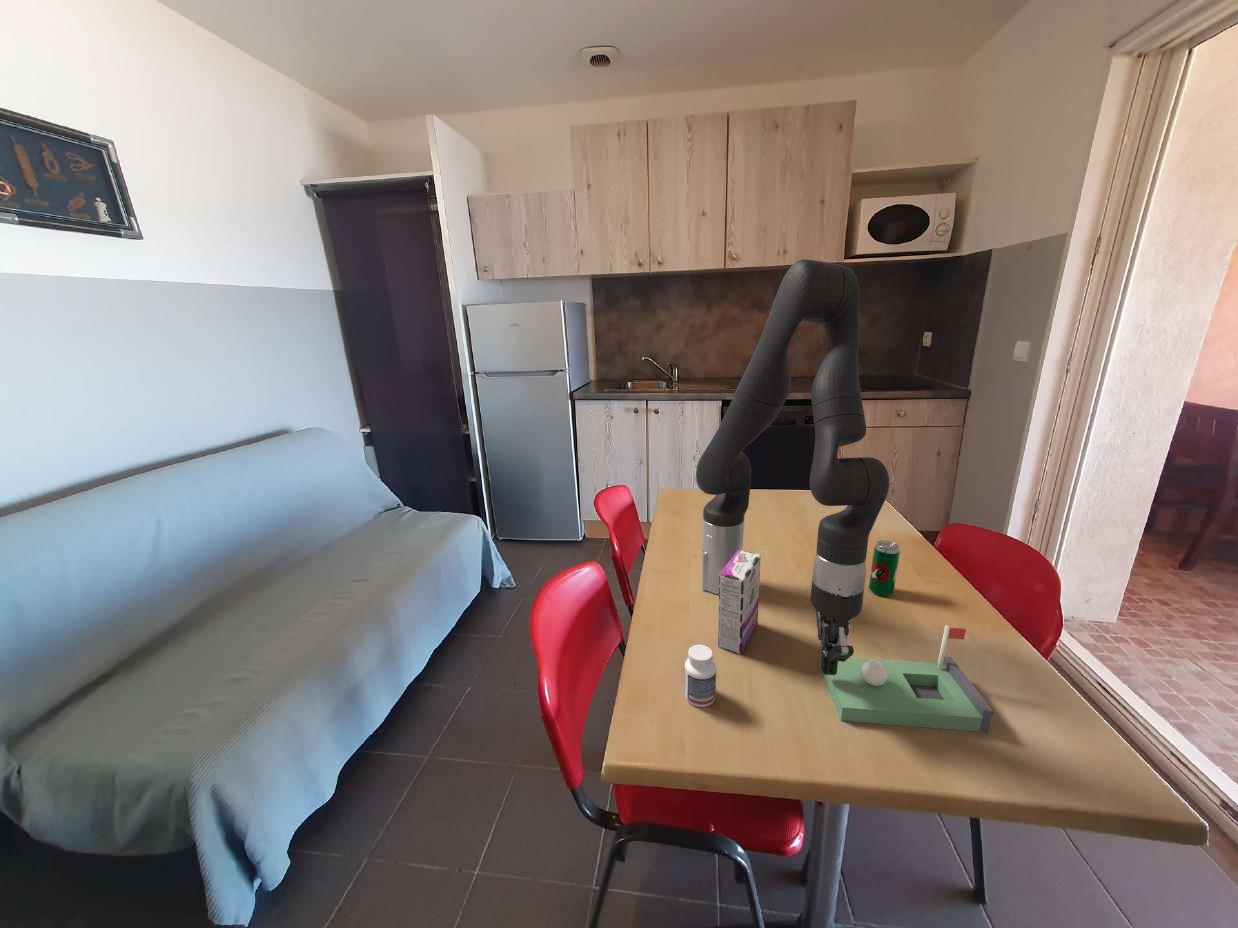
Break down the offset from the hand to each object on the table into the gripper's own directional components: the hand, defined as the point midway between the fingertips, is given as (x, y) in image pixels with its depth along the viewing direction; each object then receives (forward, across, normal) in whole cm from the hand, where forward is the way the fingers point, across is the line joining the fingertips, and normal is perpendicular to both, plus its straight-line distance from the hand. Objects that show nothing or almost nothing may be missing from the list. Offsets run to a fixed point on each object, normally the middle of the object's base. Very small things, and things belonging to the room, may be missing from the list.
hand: (828, 671), depth 80 cm
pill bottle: (+4, +3, -21) cm, 22 cm away
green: (+4, 0, +11) cm, 12 cm away
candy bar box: (+4, -14, -13) cm, 20 cm away
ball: (0, 0, +7) cm, 7 cm away
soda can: (+4, -33, +21) cm, 39 cm away
